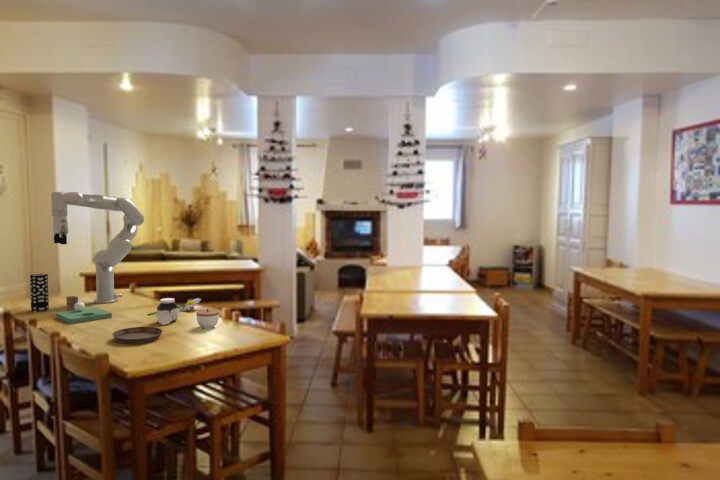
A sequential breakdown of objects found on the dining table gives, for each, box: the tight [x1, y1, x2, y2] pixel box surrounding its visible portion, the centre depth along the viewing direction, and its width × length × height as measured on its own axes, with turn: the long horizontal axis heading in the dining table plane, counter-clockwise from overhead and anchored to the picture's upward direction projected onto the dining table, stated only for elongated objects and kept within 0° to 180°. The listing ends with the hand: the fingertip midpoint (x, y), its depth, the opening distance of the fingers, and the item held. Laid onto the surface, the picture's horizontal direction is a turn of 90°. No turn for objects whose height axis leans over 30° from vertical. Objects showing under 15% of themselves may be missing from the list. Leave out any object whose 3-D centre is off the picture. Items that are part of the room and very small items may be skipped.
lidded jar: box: [195, 308, 220, 329], centre depth 243 cm, size 11×11×9 cm
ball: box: [74, 301, 86, 311], centre depth 262 cm, size 5×5×5 cm
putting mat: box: [55, 307, 113, 325], centre depth 258 cm, size 20×20×2 cm
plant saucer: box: [111, 326, 164, 345], centre depth 221 cm, size 21×21×3 cm
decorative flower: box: [147, 297, 202, 316], centre depth 276 cm, size 13×5×30 cm
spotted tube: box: [29, 273, 50, 313], centre depth 273 cm, size 8×8×20 cm
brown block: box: [66, 295, 79, 312], centre depth 268 cm, size 4×5×9 cm
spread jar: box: [156, 297, 179, 326], centre depth 251 cm, size 12×11×12 cm
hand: (60, 243), depth 279 cm, fingers open, 9 cm apart
